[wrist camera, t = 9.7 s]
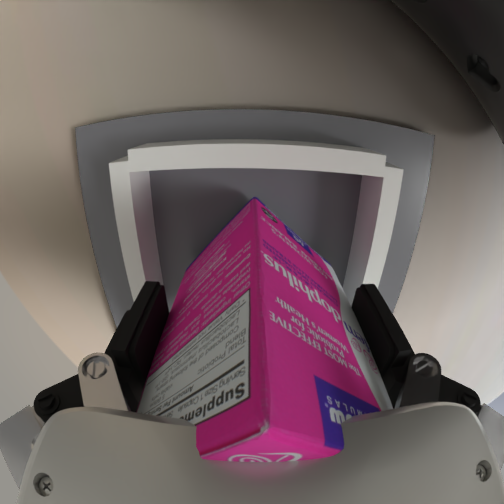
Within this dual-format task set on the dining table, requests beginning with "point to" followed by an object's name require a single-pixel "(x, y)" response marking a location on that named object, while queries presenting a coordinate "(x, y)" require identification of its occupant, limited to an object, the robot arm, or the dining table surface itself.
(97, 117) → the dining table surface
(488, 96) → the muzzle brake
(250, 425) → the supplement box
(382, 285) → the socket plate
